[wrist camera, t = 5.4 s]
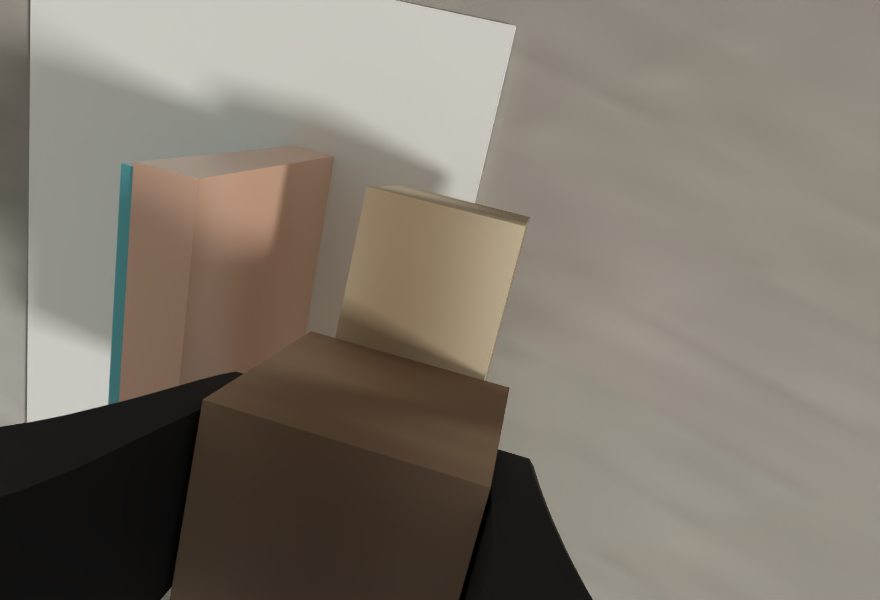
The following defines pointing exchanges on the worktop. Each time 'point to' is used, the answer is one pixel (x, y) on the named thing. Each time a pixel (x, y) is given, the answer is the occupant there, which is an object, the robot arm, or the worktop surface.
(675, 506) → the worktop surface
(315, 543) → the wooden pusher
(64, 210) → the rubber mat
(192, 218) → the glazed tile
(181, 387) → the robot arm
